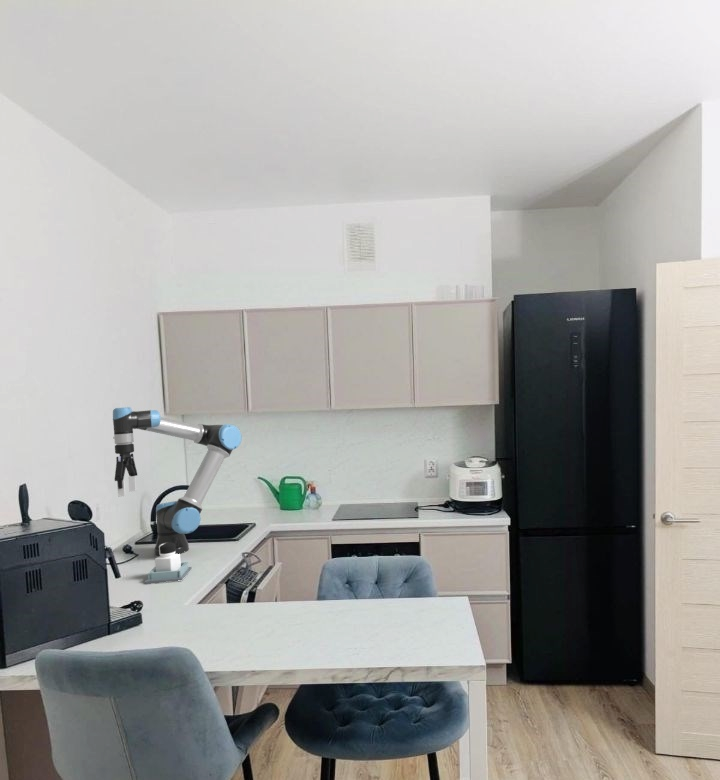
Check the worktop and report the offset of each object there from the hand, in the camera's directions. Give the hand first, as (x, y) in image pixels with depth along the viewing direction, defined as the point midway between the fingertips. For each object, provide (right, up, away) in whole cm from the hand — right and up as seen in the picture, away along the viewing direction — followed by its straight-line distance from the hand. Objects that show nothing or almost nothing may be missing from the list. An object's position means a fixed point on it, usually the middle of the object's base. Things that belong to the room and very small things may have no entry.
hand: (127, 493), depth 251 cm
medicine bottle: (+23, -29, -16) cm, 40 cm away
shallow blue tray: (+23, -30, -16) cm, 41 cm away
